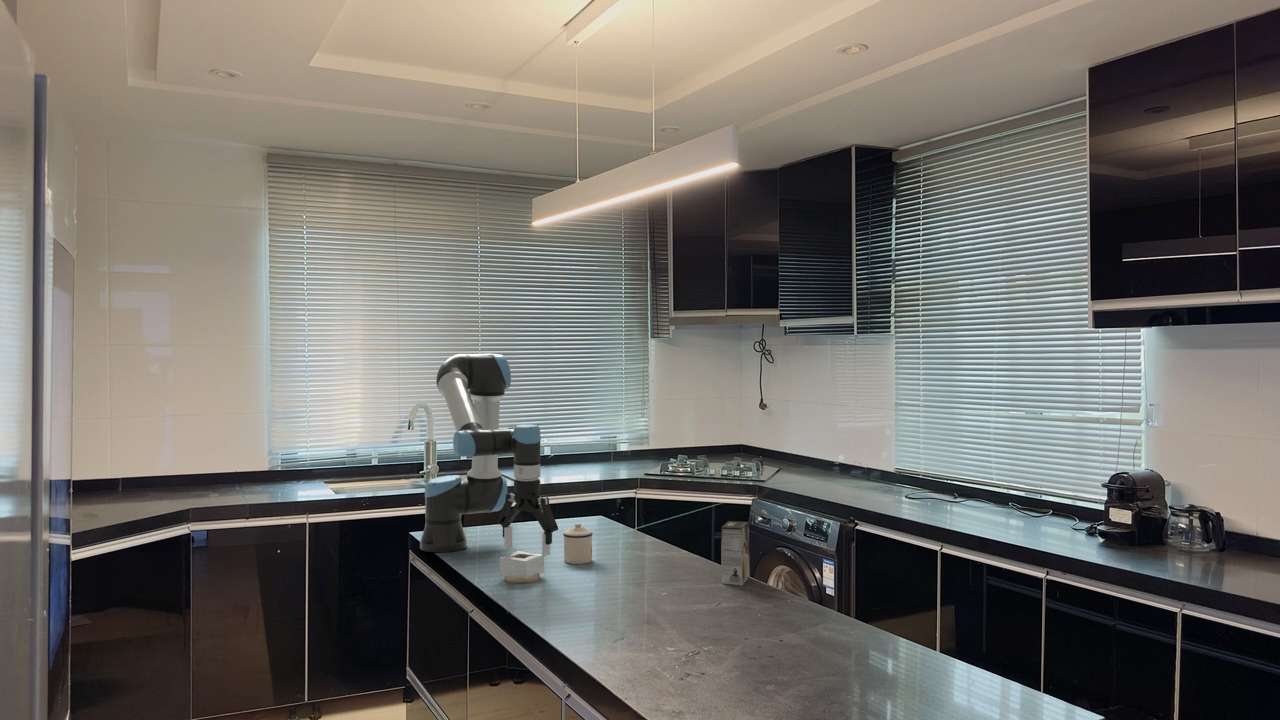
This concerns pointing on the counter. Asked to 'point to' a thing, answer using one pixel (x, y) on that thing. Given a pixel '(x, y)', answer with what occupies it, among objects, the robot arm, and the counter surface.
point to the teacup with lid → (577, 545)
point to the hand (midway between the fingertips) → (526, 552)
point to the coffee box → (735, 552)
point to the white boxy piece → (521, 565)
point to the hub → (520, 580)
